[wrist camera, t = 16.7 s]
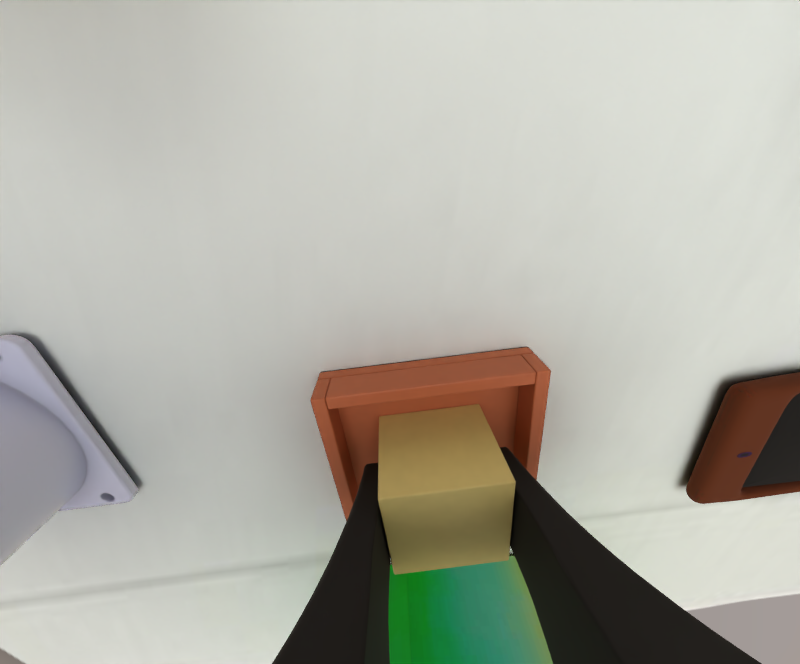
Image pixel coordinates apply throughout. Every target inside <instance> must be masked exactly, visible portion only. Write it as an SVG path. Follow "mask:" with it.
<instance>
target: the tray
mask: <svg viewBox="0 0 800 664" xmlns="http://www.w3.org/2000/svg"><path fill="white" fill-rule="evenodd" d="M550 373H551V371H550V369H549V368H548V367H547V366H546V365H545V364H544V363H543V362H542V361H541V360H540V359H539V358H538V357H537V356H536V355H535V354H533V352H532V351H531V350H530V349H529V348H528V347H523V348H515V349H507V350H499V351H491V352H483V353H474V354H466V355H458V356H450V357H442V358H434V359H426V360H418V361H410V362H402V363H393V364H385V365H377V366H369V367H361V368H353V369H345V370H337V371H329V372H321V373H320V374H319V377H318V381H317V383H316V386H315V388H314V391H313V394H312V397H311V400H310V401H311V404H312V408H313V411H314V414H315V418H316V421H317V424H318V428H319V431H320V434H321V438H322V441H323V444H324V448H325V451H326V454H327V458H328V461H329V464H330V468H331V471H332V474H333V478H334V481H335V484H336V488H337V491H338V494H339V498H340V501H341V504H342V508H343V511H344V514H345V518H346V521H347V519H348V517H349V514H350V511H351V509H352V506H353V503H354V501H355V498H356V495H357V492H358V489H359V486H360V482H361V479H362V475H363V471H364V467H365V466H366V464H370V463H378V450H379V417H380V416H386V415H394V414H402V413H410V412H418V411H426V410H434V409H442V408H450V407H458V406H466V405H474V404H479V405H480V407H481V409H482V411H483V413H484V415H485V418H486V420H487V422H488V424H489V426H490V428H491V430H492V432H493V435H494V437H495V439H496V441H497V443H498V445H499V447H507V448H509V450H510V451H511V452H512V453H513V454H514V456H515V457H516V458H517V459H518V460H519V461H520V463H521V464H522V465H523V466H524V467H525V468H526V470H527V471H528V472H529V473H530V474H531V475H532V476H533V477H534V478H535V480H536V479H537V471H538V464H539V456H540V449H541V441H542V434H543V426H544V419H545V411H546V404H547V396H548V389H549V381H550Z"/></svg>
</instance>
